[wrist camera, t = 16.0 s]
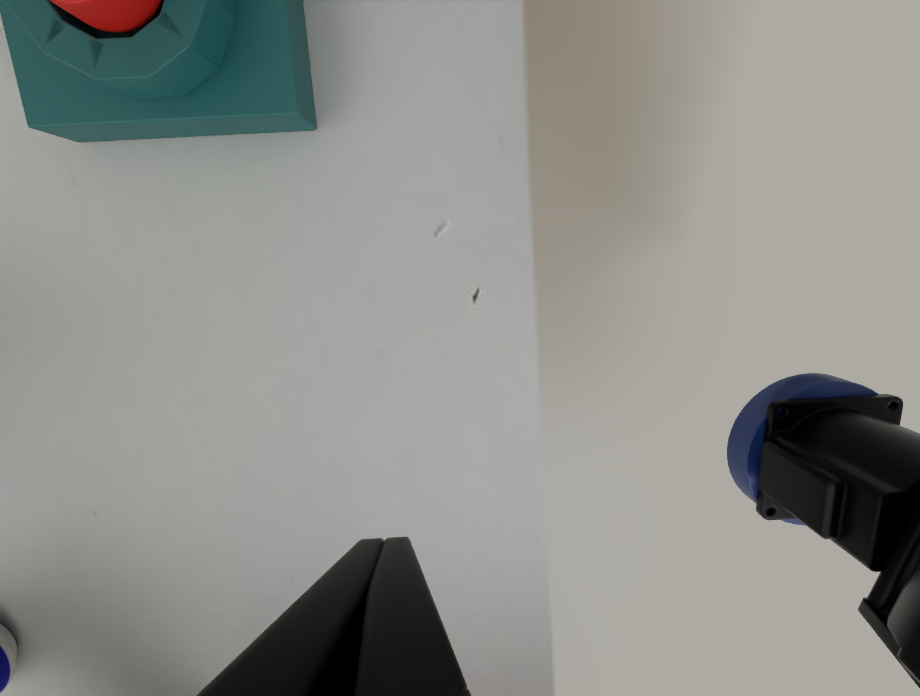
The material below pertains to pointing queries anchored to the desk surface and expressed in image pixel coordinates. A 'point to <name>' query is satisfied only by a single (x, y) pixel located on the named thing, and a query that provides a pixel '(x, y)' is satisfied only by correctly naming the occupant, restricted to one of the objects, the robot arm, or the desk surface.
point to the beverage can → (7, 657)
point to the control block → (163, 70)
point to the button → (111, 13)
